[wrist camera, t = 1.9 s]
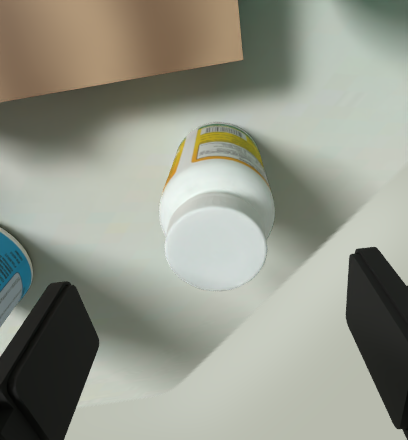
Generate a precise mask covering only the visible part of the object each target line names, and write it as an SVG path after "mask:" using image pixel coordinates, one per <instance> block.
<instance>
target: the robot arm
mask: <svg viewBox="0 0 408 440" xmlns="http://www.w3.org/2000/svg"><path fill="white" fill-rule="evenodd" d="M346 320H347V324H348V327H349V329H350V331H351V333H352V335H353V337H354V340H355V342H356V344H357V346H358V348H359V351H360V353H361V355H362V357H363V359H364V361H365V364H366V366H367V368H368V370H369V372H370V375H371V376H372V379H373V381H374V383H375V385H376V388H377V390H378V392H379V394H380V396H381V398H382V400H383V402H384V405H385V407H386V409H387V411H388V413H389V416H390V418H391V420H392V422H393V424H394V426H395V427H396V428H397V429H403V431H404V434H405V436H406V438H407V440H408V286H406V285H405V283H404V282H403V281H402V280H401V278H400V277H399V276H398V274H397V273H396V272H395V271H394V269H393V268H392V267H391V265H390V264H389V263H388V261H386V259H385V258H384V256H383V255H382V254H381V252H380V251H379V250H378V249H377V248H376V247H370V248H361V249H356V251H355V254H351V255H350V258H349V273H348V288H347V304H346ZM98 347H99V338H98V336H97V333H96V331H95V329H94V327H93V325H92V322H91V320H90V318H89V316H88V313H87V311H86V309H85V307H84V304H83V302H82V300H81V298H80V295H79V293H78V291H77V289H76V287H75V286H74V285H71V284H70V283H69V282H67V281H66V282H57V283H51V284H50V285H49V286H48V287H47V288H46V290H45V291H44V293H43V294H42V296H41V297H40V299H39V300H38V302H37V303H36V305H35V306H34V308H33V309H32V311H31V312H30V314H29V315H28V317H27V318H26V320H25V321H24V323H23V324H22V326H21V327H20V329H19V330H18V331H17V333H16V334H15V336H14V337H13V339H12V340H11V342H10V343H9V345H8V346H7V348H6V349H5V351H4V352H3V354H2V355H1V357H0V440H64V438H65V435H66V433H67V430H68V427H69V424H70V422H71V419H72V417H73V414H74V412H75V409H76V406H77V404H78V401H79V398H80V396H81V393H82V390H83V388H84V385H85V382H86V380H87V377H88V374H89V372H90V369H91V366H92V364H93V361H94V359H95V356H96V353H97V351H98Z"/></svg>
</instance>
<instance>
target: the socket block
mask: <svg viewBox="0 0 408 440" xmlns="http://www.w3.org/2000/svg"><path fill="white" fill-rule="evenodd" d="M239 60H243V52H242V41H241V30H240V19H239V8H238V0H0V102H5V101H11V100H16V99H22V98H28V97H33V96H39V95H45V94H51V93H56V92H62V91H68V90H74V89H79V88H85V87H91V86H96V85H102V84H108V83H114V82H119V81H125V80H131V79H136V78H142V77H148V76H154V75H159V74H165V73H171V72H176V71H182V70H188V69H194V68H199V67H205V66H211V65H217V64H222V63H228V62H234V61H239Z"/></svg>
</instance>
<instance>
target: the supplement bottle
mask: <svg viewBox="0 0 408 440" xmlns="http://www.w3.org/2000/svg"><path fill="white" fill-rule="evenodd" d="M274 218H275V205H274V199H273V196H272V192H271V189H270V186H269V182H268V179H267V176H266V173H265V170H264V166H263V163H262V160H261V156H260V153H259V150H258V148H257V146H256V144H255V142H254V141H253V139H252V138H251V137H250V136H249V135H248V134H247V133H246V132H245V131H243V130H242V129H241V128H239V127H237V126H234V125H232V124H228V123H222V122H213V123H208V124H204V125H202V126H199V127H197V128H196V129H194V130H193V131H191V132H190V133H189V134H188V135H187V136H186V137H185V138H184V139H183V141H182V142H181V144H180V146H179V148H178V150H177V153H176V156H175V159H174V162H173V165H172V168H171V170H170V173H169V176H168V179H167V181H166V184H165V187H164V189H163V192H162V196H161V200H160V205H159V219H160V224H161V227H162V230H163V232H164V235H165V236H166V239H165V256H166V259H167V262H168V264H169V266H170V268H171V269H172V271H173V272H174V273H175V274H176V275H177V276H178V277H179V278H180V279H181V280H183V281H184V282H186V283H188V284H189V285H191V286H194V287H196V288H199V289H202V290H209V291H225V290H230V289H234V288H237V287H240V286H242V285H244V284H246V283H247V282H249V281H250V280H252V279H253V278H254V277H255V276H256V275H257V274H258V273H259V271H260V270H261V268H262V267H263V265H264V263H265V260H266V256H267V238H268V236H269V234H270V232H271V230H272V227H273V223H274Z"/></svg>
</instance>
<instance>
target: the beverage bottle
mask: <svg viewBox="0 0 408 440" xmlns="http://www.w3.org/2000/svg"><path fill="white" fill-rule="evenodd" d="M32 279H33V267H32V263H31V260H30V258H29V256H28V254H27V252H26V250H25V249H24V248H23V246H22V245H21V244H20V243H19V242H18V241H17V240H16V239H15V238H14V237H13V236H12V235H11V234H9V233H8V232H6V231H5V230H4V229H2V228H0V327H1V325H2V324H3V323H4V321H5V320H6V318H7V317H8V316H9V314H10V313H11V311H12V310H13V309H14V307H15V306H16V305H17V303H18V302H19V301H20V300H21V299H22V298H23V296H24V295H25V294H26V292H27V291H28V289H29V288H30V286H31V283H32Z"/></svg>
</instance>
